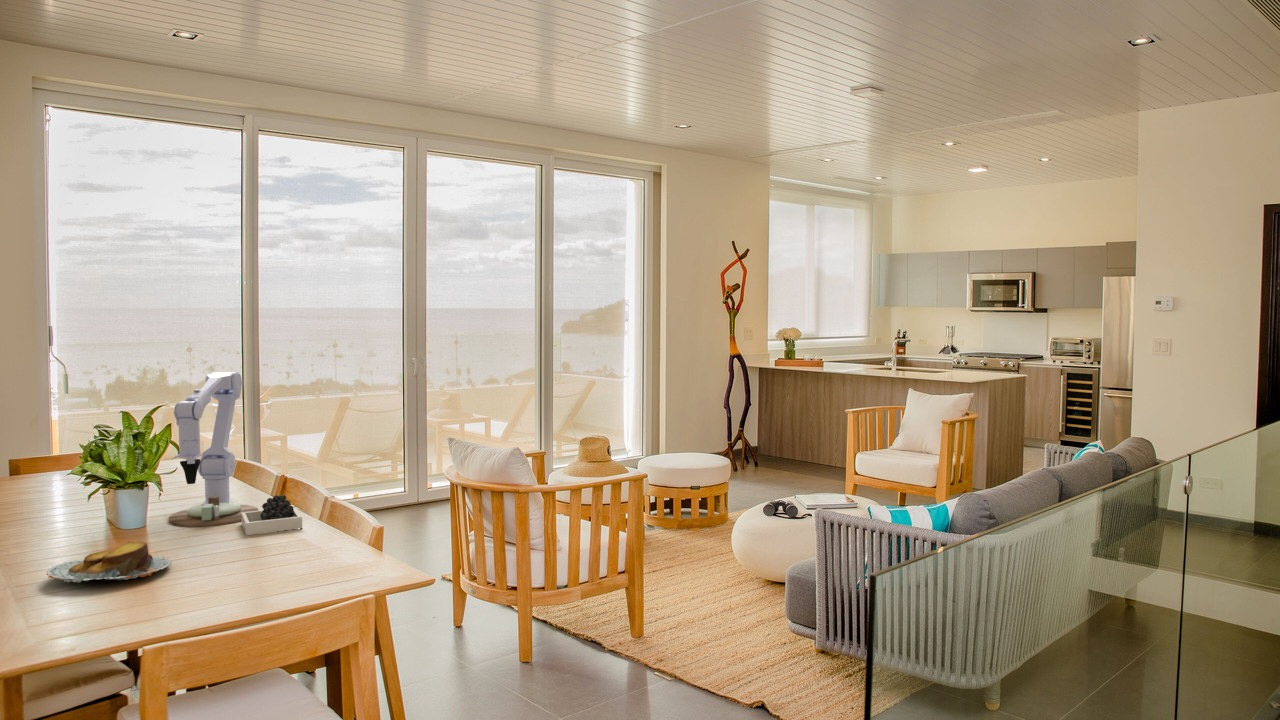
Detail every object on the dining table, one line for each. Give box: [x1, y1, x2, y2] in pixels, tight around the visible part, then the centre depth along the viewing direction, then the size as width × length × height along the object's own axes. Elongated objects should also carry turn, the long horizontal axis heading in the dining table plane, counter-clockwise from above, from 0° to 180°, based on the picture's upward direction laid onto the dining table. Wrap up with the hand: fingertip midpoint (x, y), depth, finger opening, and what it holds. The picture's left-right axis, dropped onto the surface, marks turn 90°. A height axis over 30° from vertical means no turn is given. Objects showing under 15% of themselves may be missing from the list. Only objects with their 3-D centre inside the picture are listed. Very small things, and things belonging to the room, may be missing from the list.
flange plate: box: [186, 502, 242, 520], centre depth 269 cm, size 20×15×4 cm
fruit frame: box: [240, 506, 303, 536], centre depth 259 cm, size 15×15×4 cm
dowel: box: [212, 505, 220, 521], centre depth 263 cm, size 2×2×5 cm
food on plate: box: [46, 541, 172, 584], centre depth 212 cm, size 26×26×7 cm
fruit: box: [260, 494, 294, 521], centre depth 259 cm, size 9×8×15 cm
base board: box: [168, 496, 259, 528], centre depth 271 cm, size 25×25×6 cm
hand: (191, 483), depth 271 cm, fingers closed
